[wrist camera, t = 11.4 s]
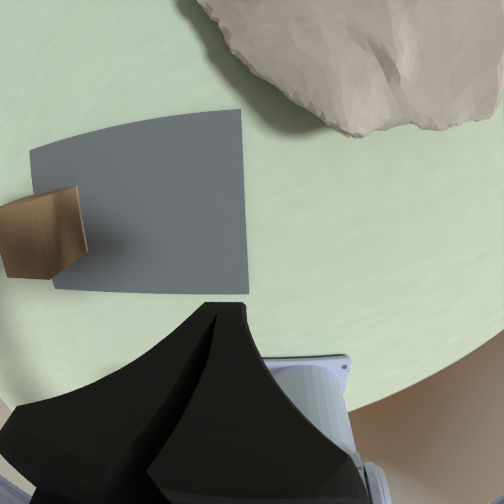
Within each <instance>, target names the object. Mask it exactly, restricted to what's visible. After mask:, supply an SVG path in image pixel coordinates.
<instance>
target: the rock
mask: <svg viewBox="0 0 504 504" xmlns="http://www.w3.org/2000/svg"><path fill="white" fill-rule="evenodd" d="M197 2H198V3H199V5H200V6H201V7H202V8H203V10H204V11H205V12H206V13H207V15H208V16H209V19H210V20H213V21H215V22H216V23H217V24H218V27H219V29H220V30H221V32H222V33H223V36H224V40H225V42H226V44H227V45H228V46H229V48H230V51H231V53H232V54H233V55H235V56H236V57H237V58H239V59H240V60H241V61H242V62H243V64H245V65H246V66H247V67H248V68H249V69H250V71H251V72H252V73H253V74H254V75H256V76H258V77H260V78H261V79H263V80H265V81H267V82H269V83H271V84H272V85H274V86H275V87H277V88H278V89H280V90H281V91H282V92H283V94H284V95H285V96H286V97H287V98H288V99H290V100H291V101H292V102H294V103H295V104H297V105H299V106H301V107H303V108H305V109H307V110H308V111H310V112H311V113H313V114H314V115H315V116H317V117H318V118H320V119H321V120H322V121H323V122H324V123H325V124H326V125H327V126H329V127H331V128H333V129H335V130H336V131H338V132H340V133H341V134H343V135H345V136H346V137H348V138H350V137H351V136H352V137H353V138H355V139H358V138H364V137H366V136H367V135H368V134H370V133H371V132H372V131H375V130H384V131H387V130H389V129H390V128H392V127H395V126H398V125H406V124H410V123H411V124H415V125H417V126H418V127H419V128H421V129H423V130H436V131H442V130H447V129H448V128H449V127H453V126H454V125H456V126H459V125H461V123H462V122H468V121H470V120H473V121H477V122H478V121H481V120H484V119H489V118H490V117H491V116H492V115H493V114H494V112H495V110H496V109H497V106H498V104H499V101H500V99H501V96H502V91H503V90H504V0H197Z"/></svg>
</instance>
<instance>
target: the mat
mask: <svg viewBox="0 0 504 504" xmlns="http://www.w3.org/2000/svg"><path fill="white" fill-rule="evenodd" d="M30 164H31V175H32V184H33V191H34V194H38V193H43V192H48V191H53V190H58V189H63V188H69V187H74V186H77V187H78V195H79V202H80V209H81V215H82V221H83V227H84V232H85V237H86V242H87V247H88V252H87V253H86V254H84V255H83V256H81V257H80V258H78V259H77V260H76V261H74V262H73V263H72V264H70V265H69V266H67V267H66V268H65V269H63V270H62V271H61V272H59V273H58V274H57V275H55V276H54V277H53V278H52V280H53V283H54V287H55V289H67V290H83V291H103V292H126V293H157V294H249V280H248V260H247V239H246V218H245V196H244V174H243V151H242V128H241V110H240V109H236V110H222V111H210V112H200V113H191V114H183V115H176V116H169V117H162V118H156V119H150V120H144V121H139V122H133V123H128V124H123V125H119V126H114V127H110V128H105V129H101V130H97V131H93V132H89V133H85V134H81V135H78V136H74V137H71V138H67V139H64V140H60V141H57V142H54V143H51V144H48V145H45V146H42V147H39V148H36V149H33V150H30Z"/></svg>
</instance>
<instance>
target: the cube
mask: <svg viewBox="0 0 504 504" xmlns="http://www.w3.org/2000/svg"><path fill="white" fill-rule="evenodd" d="M87 252H88V247H87V242H86V237H85V232H84V227H83V221H82V215H81V209H80V202H79V195H78V187H77V186H74V187H69V188H63V189H58V190H53V191H48V192H43V193H38V194H34V195H31V196H28V197H25V198H22V199H19V200H16V201H13V202H11V203H8V204H5V205H3V206H0V253H1V257H2V260H3V264H4V267H5V271H6V274H7V277H10V278H27V279H46V280H50V279H51V278H53V277H54V276H55V275H57V274H58V273H59V272H61V271H62V270H63V269H65V268H66V267H67V266H69V265H70V264H72V263H73V262H74V261H76V260H77V259H78V258H80V257H81V256H83V255H84V254H86V253H87Z"/></svg>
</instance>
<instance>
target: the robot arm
mask: <svg viewBox="0 0 504 504" xmlns="http://www.w3.org/2000/svg"><path fill="white" fill-rule="evenodd" d="M350 364H351V359H350V357H349V356H334V357H319V358H299V359H262V357H261V355H260V353H259V351H258V349H257V347H256V345H255V343H254V340H253V338H252V335H251V332H250V330H249V326H248V323H247V313H246V305H245V304H244V303H243V302H205V303H203V304H202V305H201V306H200V307H199V308H198V309H197V310H196V311H195V312H194V313H193V314H191V315H190V316H189V317H188V318H187V319H186V320H185V321H184V322H183V323H182V324H181V325H179V326H178V327H177V328H176V329H175V330H174V331H173V332H172V333H170V334H169V335H168V336H167V337H165V338H164V339H163V340H162V341H160V342H159V343H158V344H157V345H155V346H154V347H153V348H151V349H150V350H149V351H147V352H146V353H145V354H143V355H142V356H140V357H139V358H137V359H136V360H134V361H132V362H131V363H129V364H128V365H126V366H124V367H123V368H121V369H119V370H117V371H115V372H114V373H112V374H110V375H108V376H106V377H104V378H102V379H100V380H98V381H96V382H94V383H91V384H89V385H87V386H84V387H82V388H79V389H77V390H74V391H71V392H69V393H66V394H63V395H60V396H57V397H53V398H50V399H46V400H42V401H38V402H34V403H29V404H25V405H19V406H17V407H16V408H15V410H14V411H13V413H12V414H11V416H10V417H9V418H8V420H7V421H6V423H5V424H4V426H3V427H2V429H1V430H0V454H1V455H2V456H3V457H4V458H5V459H6V461H7V462H8V463H9V464H11V465H12V466H13V467H14V468H15V469H16V470H17V471H18V472H19V473H20V474H21V475H22V476H24V477H25V478H26V479H27V480H28V481H29V482H31V483H32V484H33V485H34V486H35V487H37V488H36V490H35V492H34V494H33V496H30V495H29V494H27V493H26V492H24V491H23V490H21V489H19V488H18V487H17V486H15V485H14V484H12V483H11V482H9V481H8V480H6V479H5V478H4V477H2V476H1V475H0V504H391V498H390V494H389V490H388V485H387V481H386V478H385V475H384V473H383V470H382V468H381V467H379V466H377V465H374V463H372V462H369V463H365V464H364V465H363V467H364V473H363V469H362V464H361V460H360V456H359V453H358V452H356V449H355V444H354V440H353V435H352V431H351V426H350V422H349V418H348V413H347V409H346V405H345V401H344V397H343V394H344V390H345V386H346V382H347V377H348V373H349V369H350ZM343 365H345V366H343ZM488 504H504V494H502V495H501V496H499V497H498V498H496V499H494V500H493V501H491V502H489V503H488Z"/></svg>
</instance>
